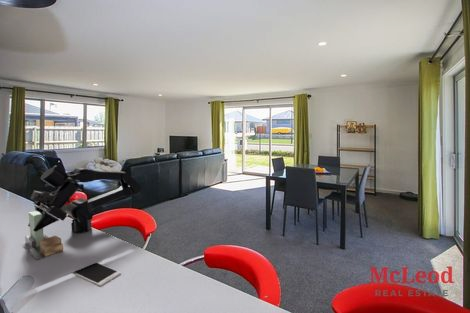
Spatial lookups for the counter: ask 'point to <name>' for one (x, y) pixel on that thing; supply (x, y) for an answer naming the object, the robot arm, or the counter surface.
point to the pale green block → (33, 220)
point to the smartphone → (97, 273)
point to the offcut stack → (51, 245)
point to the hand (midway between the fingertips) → (31, 228)
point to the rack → (35, 248)
